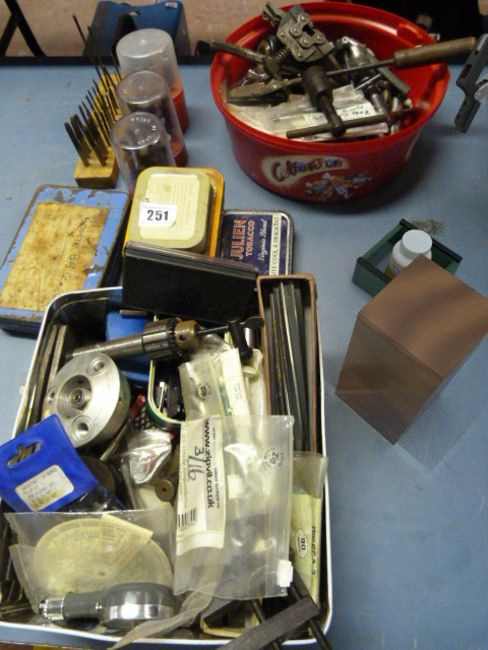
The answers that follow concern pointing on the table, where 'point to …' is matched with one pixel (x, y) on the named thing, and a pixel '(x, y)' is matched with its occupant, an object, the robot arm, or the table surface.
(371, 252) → the tray
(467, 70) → the robot arm
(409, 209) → the table surface
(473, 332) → the brown rectangular block
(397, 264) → the supplement bottle
